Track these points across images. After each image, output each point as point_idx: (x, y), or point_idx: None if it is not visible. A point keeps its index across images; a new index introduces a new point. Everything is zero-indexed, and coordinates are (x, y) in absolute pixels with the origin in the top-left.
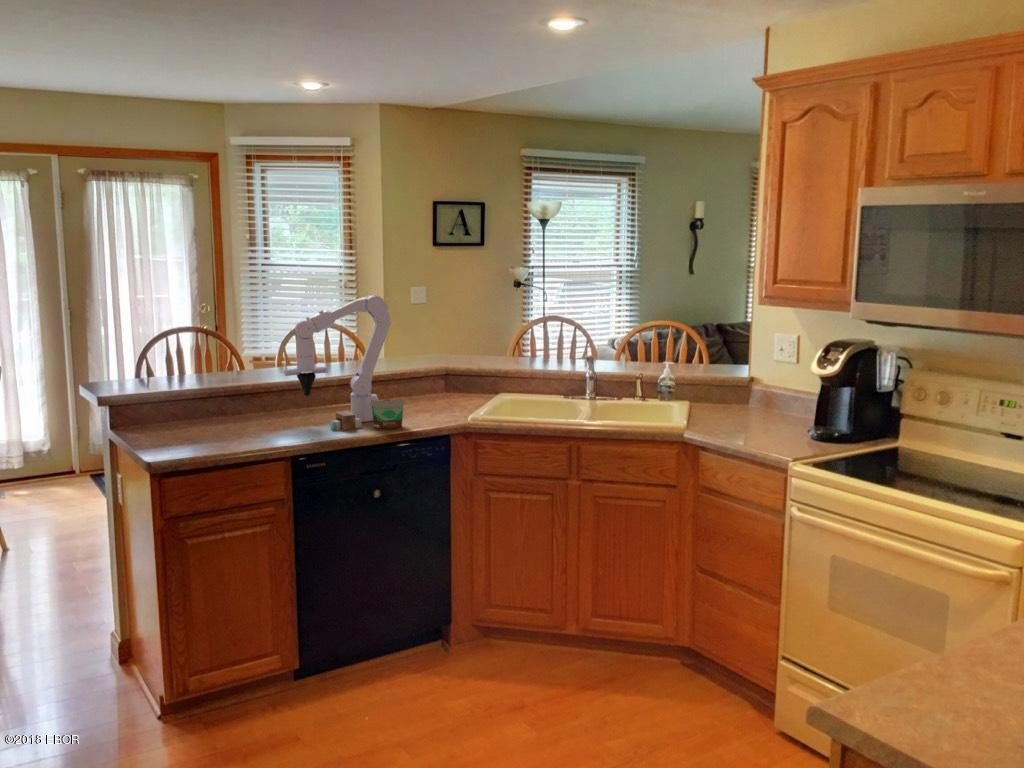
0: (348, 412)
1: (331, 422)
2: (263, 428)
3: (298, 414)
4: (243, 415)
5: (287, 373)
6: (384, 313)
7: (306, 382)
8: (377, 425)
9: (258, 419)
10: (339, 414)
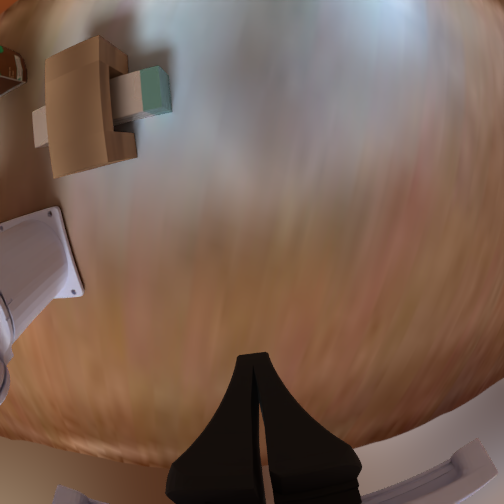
0: (53, 129)
1: (161, 86)
2: (419, 249)
3: None
4: (378, 423)
5: (478, 460)
6: None
7: (278, 426)
8: (16, 59)
9: (374, 384)
10: (101, 94)
